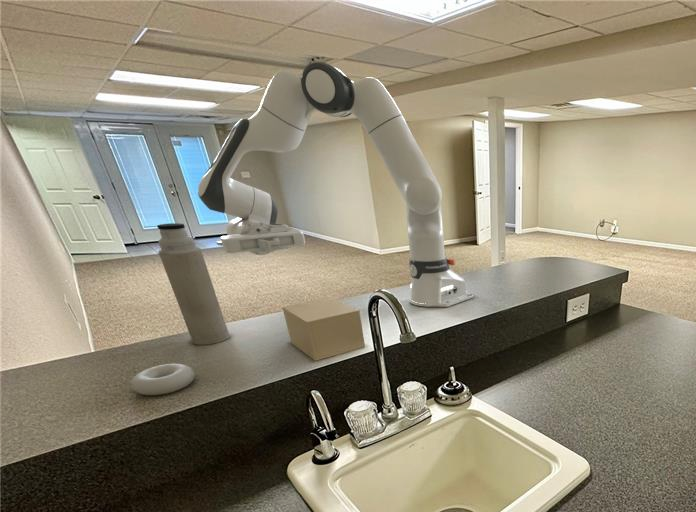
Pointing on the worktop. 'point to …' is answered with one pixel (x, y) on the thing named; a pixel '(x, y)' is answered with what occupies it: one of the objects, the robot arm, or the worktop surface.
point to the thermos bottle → (191, 285)
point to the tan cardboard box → (324, 327)
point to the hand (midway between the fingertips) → (274, 244)
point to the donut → (162, 379)
